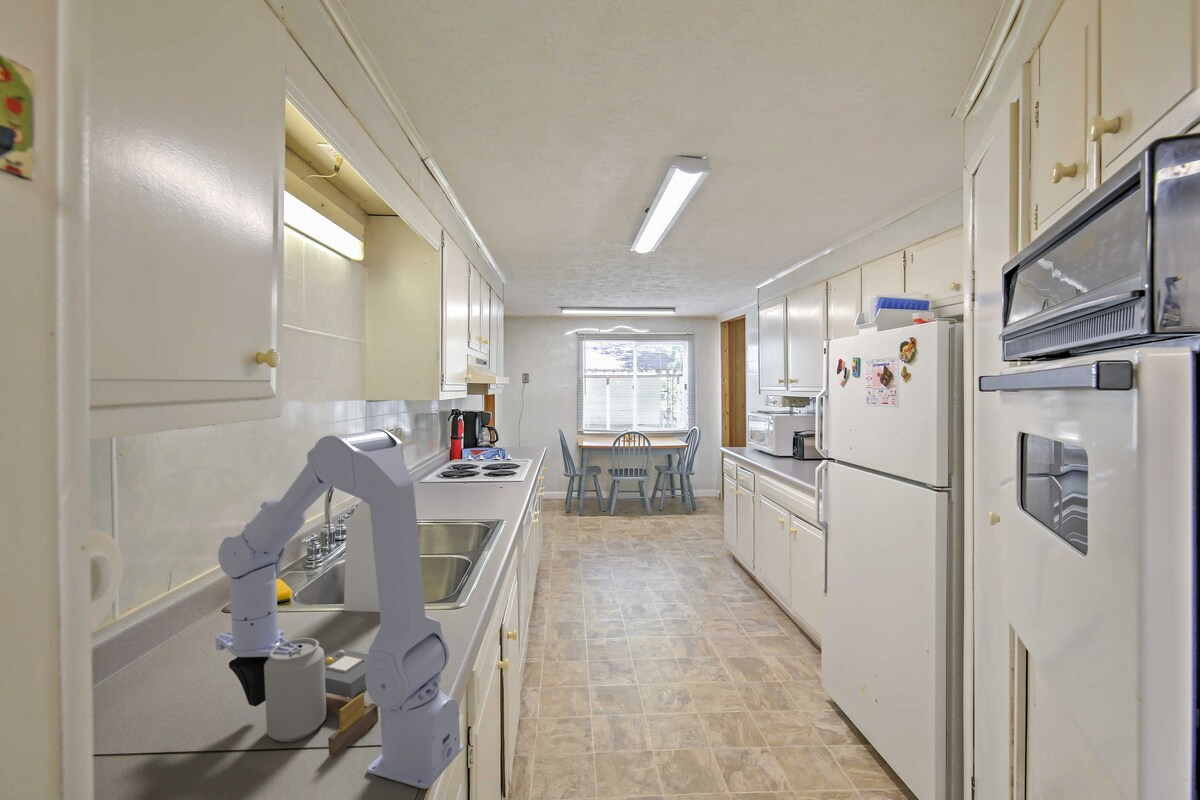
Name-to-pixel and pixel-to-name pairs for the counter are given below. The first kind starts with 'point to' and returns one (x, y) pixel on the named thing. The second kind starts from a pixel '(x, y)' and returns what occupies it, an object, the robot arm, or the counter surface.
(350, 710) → the lockout bracket
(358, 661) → the block
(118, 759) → the counter surface
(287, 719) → the can
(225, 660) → the counter surface
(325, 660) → the panel
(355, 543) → the milk
